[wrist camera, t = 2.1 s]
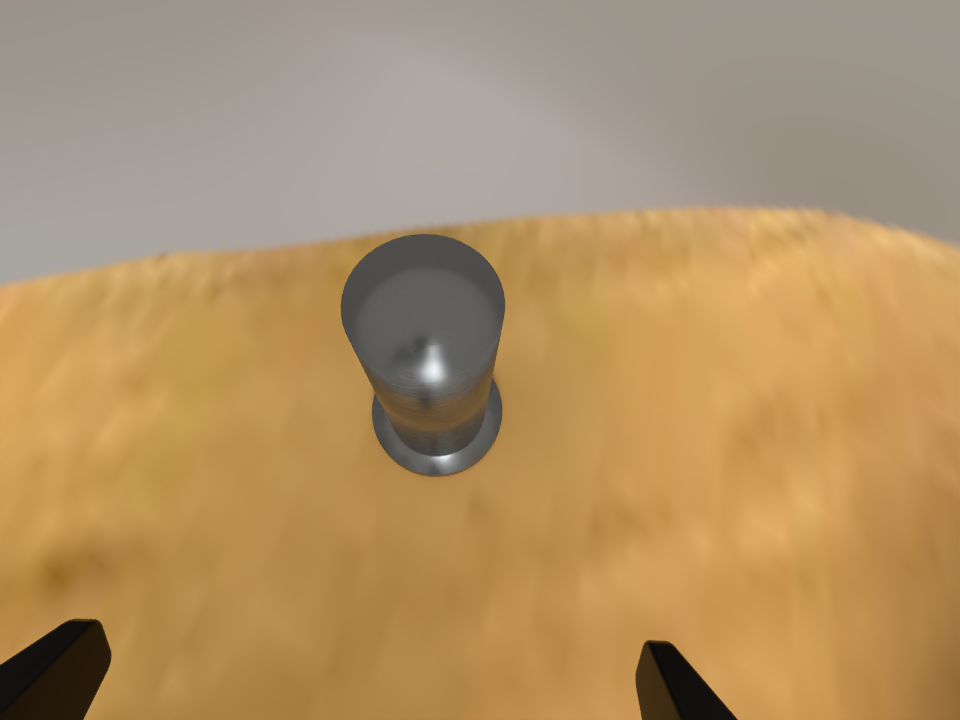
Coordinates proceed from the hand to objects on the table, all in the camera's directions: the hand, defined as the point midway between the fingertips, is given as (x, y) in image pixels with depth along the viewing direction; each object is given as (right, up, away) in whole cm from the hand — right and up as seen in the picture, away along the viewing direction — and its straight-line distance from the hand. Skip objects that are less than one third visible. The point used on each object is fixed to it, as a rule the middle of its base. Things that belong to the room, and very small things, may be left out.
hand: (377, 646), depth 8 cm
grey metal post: (0, +2, +15) cm, 16 cm away
